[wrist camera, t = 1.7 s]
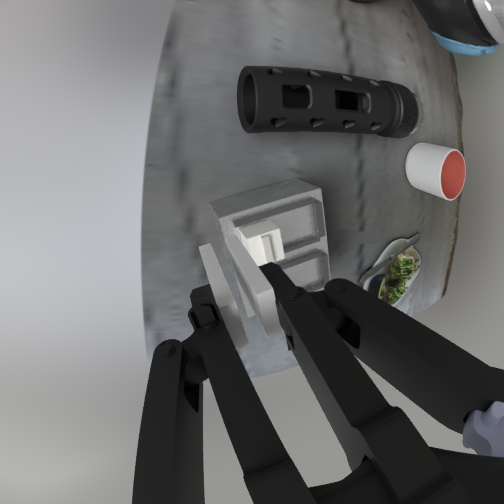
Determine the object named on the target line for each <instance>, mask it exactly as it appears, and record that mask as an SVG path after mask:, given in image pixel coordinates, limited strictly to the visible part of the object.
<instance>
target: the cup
mask: <svg viewBox="0 0 504 504" xmlns="http://www.w3.org/2000/svg"><path fill="white" fill-rule="evenodd" d="M405 170H406V175H407V178H408V180H409V182H410V184H411V185H412V186H413V187H415V188H417V189H419V190H422V191H425V192H428V193H430V194H433V195H436V196H438V197H441V198H444V199H446V200H454V199H455V198H456V197H457V196H458V195H459V194H460V192H461V190H462V188H463V185H464V182H465V176H466V175H465V174H466V166H465V161H464V158H463V156H462V154H461V153H460V152H459V151H458V150H457V149H453V148H448V147H443V146H439V145H434V144H428V143H417V144H415V145H414V146H413V147H412V148H411V149H410V151H409V152H408V155H407V158H406V163H405Z"/></svg>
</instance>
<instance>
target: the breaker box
mask: <svg viewBox="0 0 504 504" xmlns="http://www.w3.org/2000/svg"><path fill="white" fill-rule="evenodd" d="M210 207H211V210H212V214H213V217H214V221H215V224H216V228H217V231H218V235H219V238H220V241H221V245H222V248H223V252H224V255H225V258H226V262H227V265H228V268H229V272H230V275H231V278H232V282H233V285H234V288H235V291H236V293H237V295H238V298H239V300H240V302H241V304H242V306H243V308H244V310H245V313H246V315H247V317H248V318H249V317H252V316H255V313H254V311H253V309H252V307H251V305H250V303H249V301H248V300H247V298H246V296H245V294H244V292H243V290H242V288H241V286H240V284H239V282H238V280H237V278H236V276H235V273H234V270H233V266H232V263H231V259H230V256H229V252H228V249H227V245H226V242H225V238H227V237H230V236H233V235H237V237H238V238H239V240H240V241H241V242H242V239H241V235H240V231H239V229H240V228H244V227H247V226H250V225H253V224H256V223H259V222H262V221H266V220H270V221H272V222H273V223H274V224H275V225H276V226H277V227H278V228H279V229H280V234H281V239H282V245H283V250H284V256H285V258H284V259H281V260H278V261H275V262H274V263H275V264H278V265H279V266H280V267H281V268H282V270H283V271H284V272H285V274H287V276H288V277H289V278H290V279H291V280H292V282H293V283H294V284H295V285H296V286H299V287H303V288H304V289H305V290H306V291H307V292H316V291H320V290H322V289H324V286H325V284H326V283H327V282H328V281H330V280H331V279H330V266H329V255H328V244H327V234H326V225H325V216H324V208H323V200H322V193H321V188H319V187H317V186H314V185H312V184H310V183H307V182H305V181H302V180H300V179H297V178H294V179H290V180H286V181H282V182H279V183H275V184H271V185H268V186H264V187H261V188H257V189H254V190H250V191H247V192H243V193H240V194H236V195H233V196H230V197H226V198H223V199H220V200H217V201H214V202H210ZM242 244H243V242H242Z"/></svg>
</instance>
